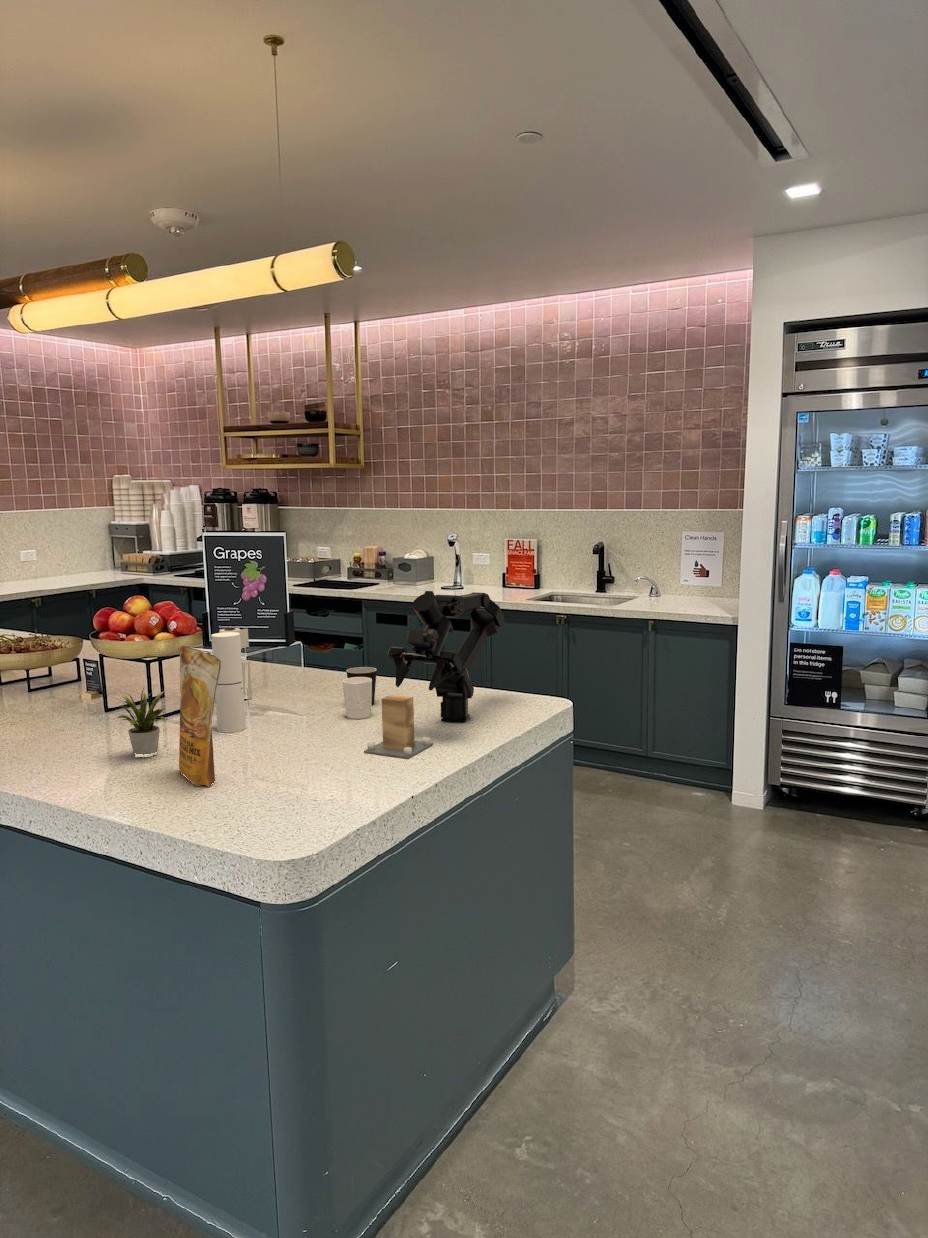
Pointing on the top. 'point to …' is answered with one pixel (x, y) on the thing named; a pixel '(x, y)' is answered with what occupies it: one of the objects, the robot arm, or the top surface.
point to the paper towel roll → (244, 644)
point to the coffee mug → (364, 672)
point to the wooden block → (398, 722)
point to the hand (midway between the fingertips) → (413, 688)
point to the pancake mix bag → (197, 714)
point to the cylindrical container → (229, 682)
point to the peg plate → (404, 754)
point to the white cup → (358, 697)
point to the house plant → (143, 725)
